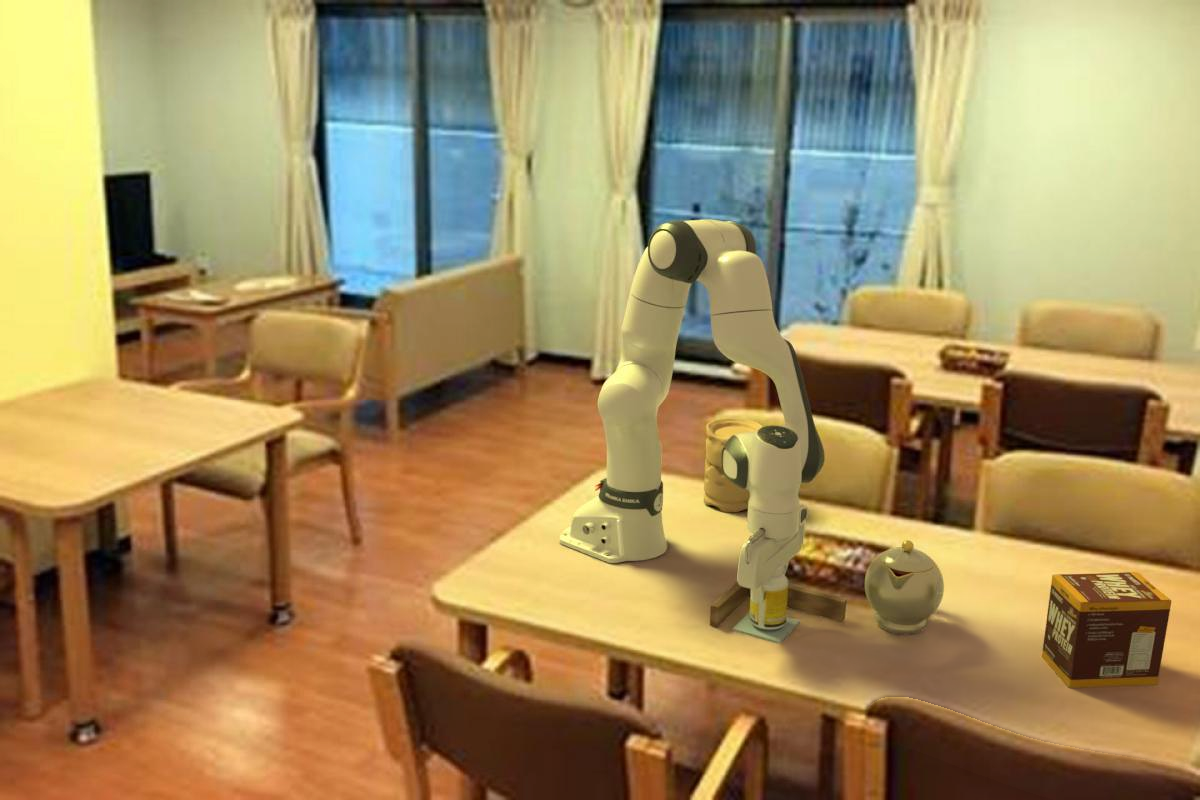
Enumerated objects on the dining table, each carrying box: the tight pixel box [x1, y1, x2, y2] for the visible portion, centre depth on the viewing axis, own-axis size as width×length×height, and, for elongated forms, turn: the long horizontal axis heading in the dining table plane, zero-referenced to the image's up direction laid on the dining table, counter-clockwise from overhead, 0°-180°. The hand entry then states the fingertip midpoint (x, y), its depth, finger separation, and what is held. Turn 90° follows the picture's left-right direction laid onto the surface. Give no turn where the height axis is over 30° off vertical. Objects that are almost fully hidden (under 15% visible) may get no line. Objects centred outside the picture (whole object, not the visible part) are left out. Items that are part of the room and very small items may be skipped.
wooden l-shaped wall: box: [709, 581, 848, 629], centre depth 212 cm, size 20×15×4 cm
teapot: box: [864, 539, 945, 635], centre depth 211 cm, size 18×14×16 cm
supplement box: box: [1041, 571, 1172, 689], centre depth 195 cm, size 10×15×16 cm
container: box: [703, 417, 764, 514], centre depth 263 cm, size 13×13×18 cm
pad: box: [732, 611, 800, 645], centre depth 210 cm, size 9×9×1 cm
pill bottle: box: [749, 563, 789, 630], centre depth 209 cm, size 6×6×12 cm
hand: (768, 592), depth 209 cm, fingers closed on pill bottle, 6 cm apart
